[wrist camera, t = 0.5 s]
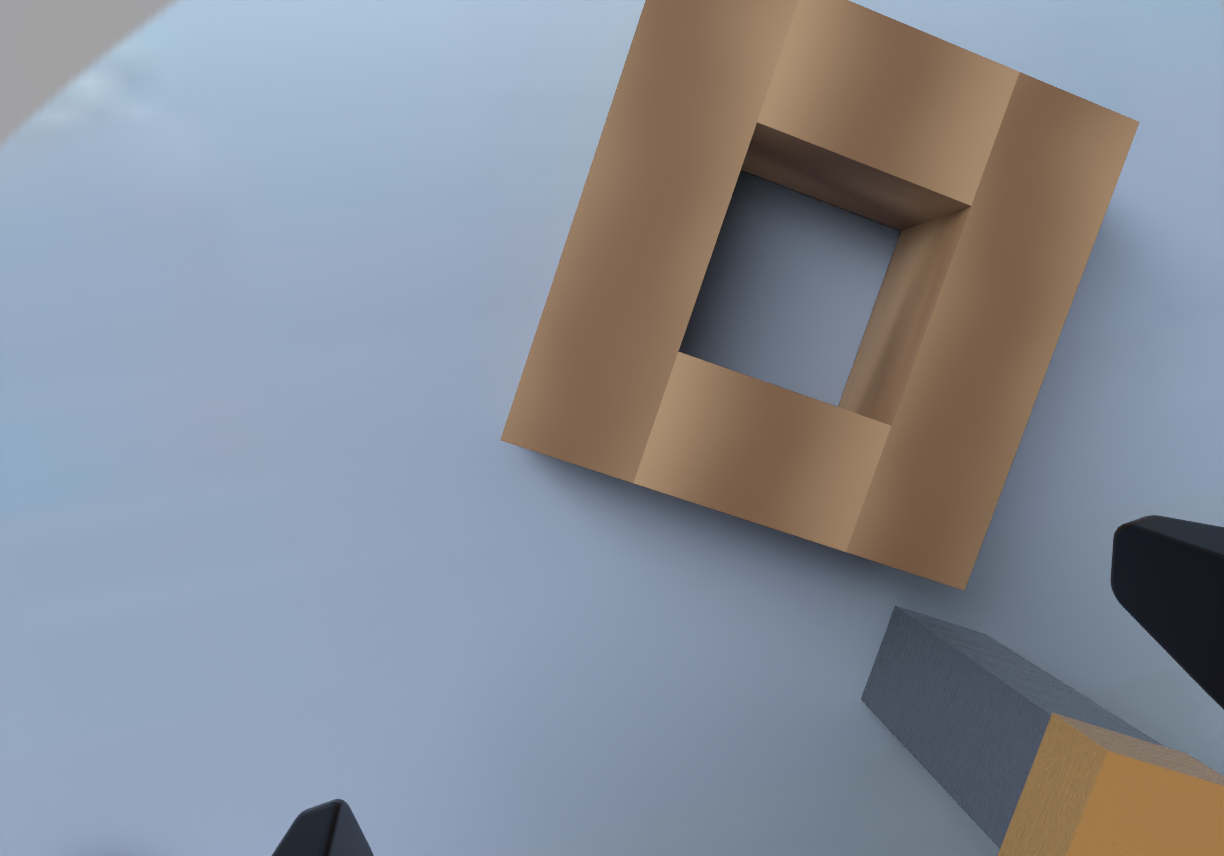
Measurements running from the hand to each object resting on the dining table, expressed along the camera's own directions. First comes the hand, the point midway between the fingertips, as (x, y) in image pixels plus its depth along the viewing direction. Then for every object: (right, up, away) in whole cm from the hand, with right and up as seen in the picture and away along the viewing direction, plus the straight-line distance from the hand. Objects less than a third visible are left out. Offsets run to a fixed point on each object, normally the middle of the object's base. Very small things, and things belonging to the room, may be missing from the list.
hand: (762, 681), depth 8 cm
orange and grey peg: (+8, -4, +14) cm, 17 cm away
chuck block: (+3, +7, +13) cm, 15 cm away
